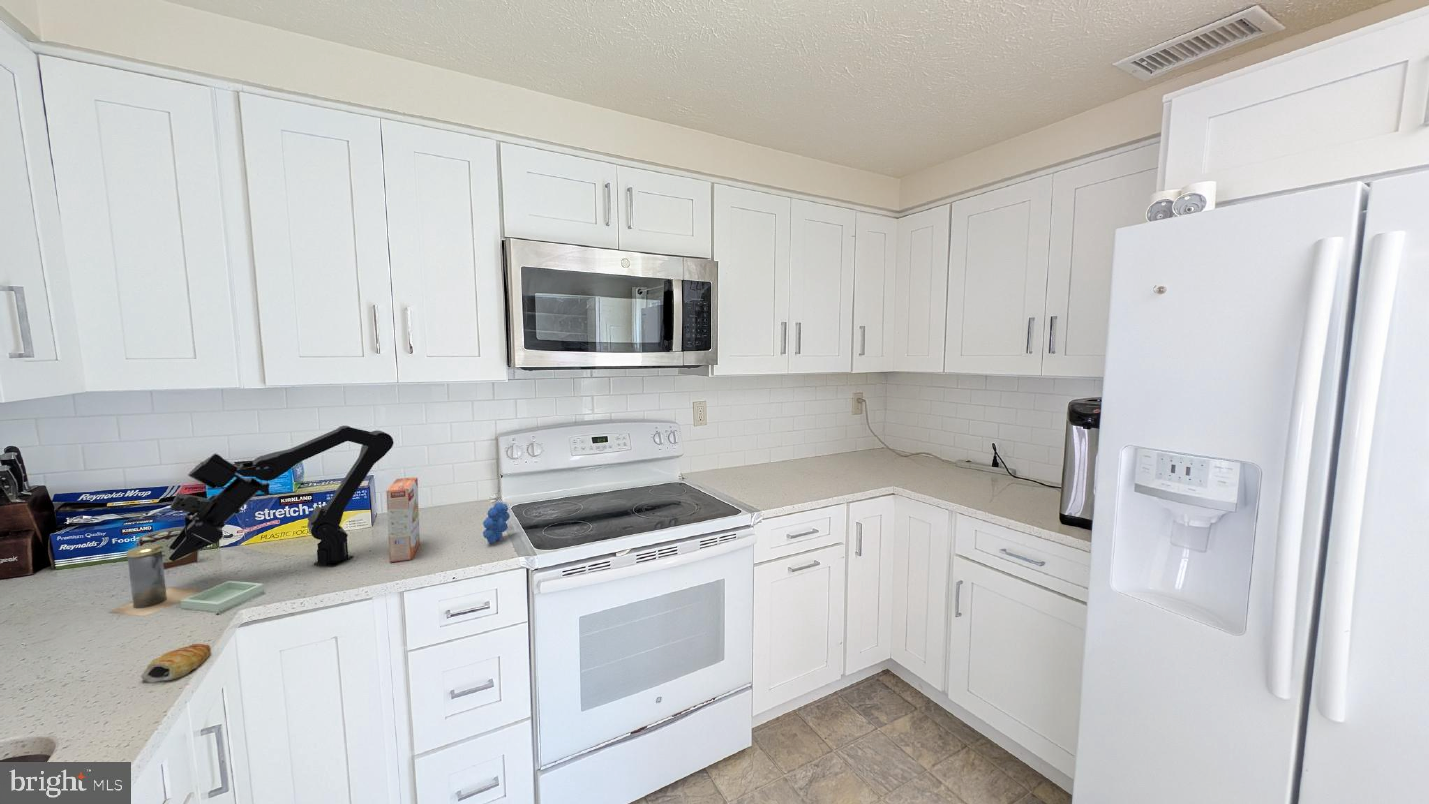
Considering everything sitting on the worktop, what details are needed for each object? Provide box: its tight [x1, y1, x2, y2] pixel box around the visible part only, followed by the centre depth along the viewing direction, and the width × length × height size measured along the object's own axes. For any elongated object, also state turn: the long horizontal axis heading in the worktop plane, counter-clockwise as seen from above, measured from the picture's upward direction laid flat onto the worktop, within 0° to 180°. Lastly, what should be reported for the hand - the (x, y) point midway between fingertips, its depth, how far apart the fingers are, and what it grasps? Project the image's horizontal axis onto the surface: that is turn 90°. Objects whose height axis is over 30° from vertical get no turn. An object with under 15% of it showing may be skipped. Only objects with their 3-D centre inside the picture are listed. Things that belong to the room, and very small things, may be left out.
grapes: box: [482, 501, 511, 544], centre depth 158 cm, size 12×7×12 cm, turn 168°
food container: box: [134, 526, 200, 570], centre depth 137 cm, size 12×6×10 cm, turn 141°
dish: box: [180, 580, 265, 616], centre depth 119 cm, size 10×10×2 cm
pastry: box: [140, 643, 212, 683], centre depth 95 cm, size 9×7×4 cm
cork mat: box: [107, 587, 206, 617], centre depth 118 cm, size 12×10×1 cm
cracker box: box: [386, 477, 421, 563], centre depth 147 cm, size 14×6×21 cm, turn 22°
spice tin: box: [125, 544, 167, 608], centre depth 116 cm, size 5×5×13 cm
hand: (170, 554), depth 119 cm, fingers open, 9 cm apart
